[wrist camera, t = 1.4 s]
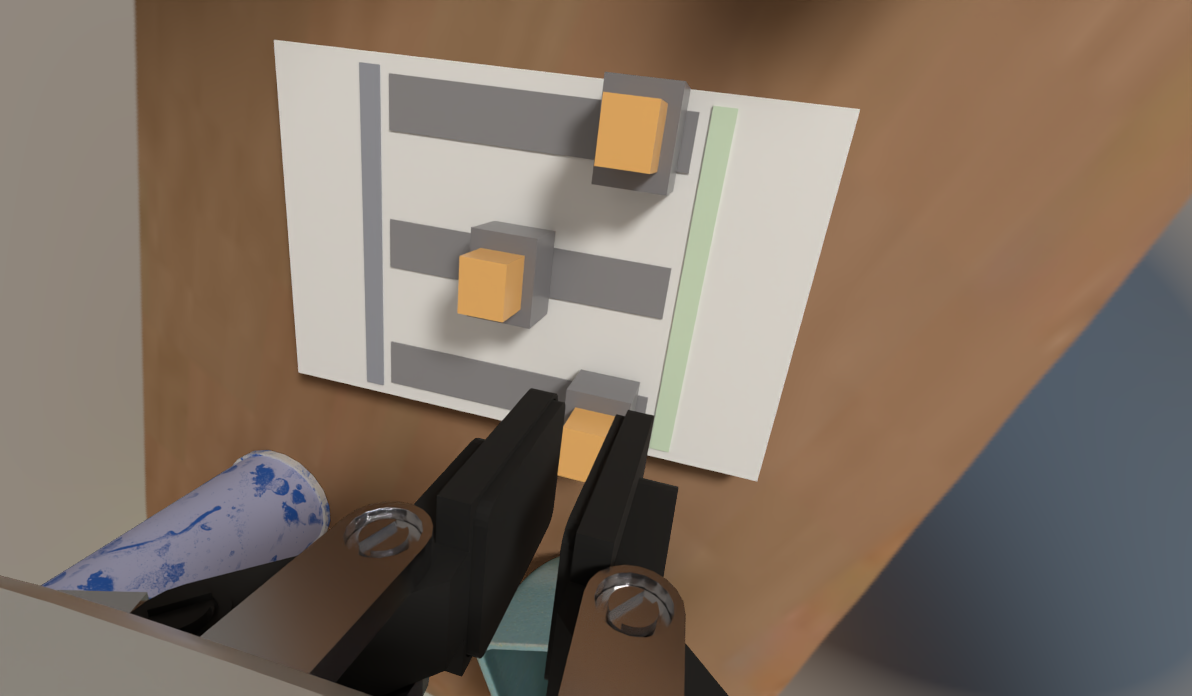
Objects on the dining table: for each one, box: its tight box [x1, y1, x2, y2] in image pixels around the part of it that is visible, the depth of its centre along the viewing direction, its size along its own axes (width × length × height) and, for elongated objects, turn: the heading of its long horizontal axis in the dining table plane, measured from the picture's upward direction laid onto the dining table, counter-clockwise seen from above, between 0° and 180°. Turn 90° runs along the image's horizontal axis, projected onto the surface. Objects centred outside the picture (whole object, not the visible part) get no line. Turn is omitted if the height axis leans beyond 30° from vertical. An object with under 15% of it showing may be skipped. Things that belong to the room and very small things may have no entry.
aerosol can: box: [41, 450, 330, 599], centre depth 29 cm, size 8×8×20 cm
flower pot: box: [477, 556, 560, 696], centre depth 30 cm, size 9×9×9 cm
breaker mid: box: [457, 221, 556, 329], centre depth 24 cm, size 4×3×4 cm
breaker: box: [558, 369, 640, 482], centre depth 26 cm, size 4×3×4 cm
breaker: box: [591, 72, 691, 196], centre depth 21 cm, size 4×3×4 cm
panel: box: [274, 40, 860, 481], centre depth 27 cm, size 17×26×2 cm, turn 82°
